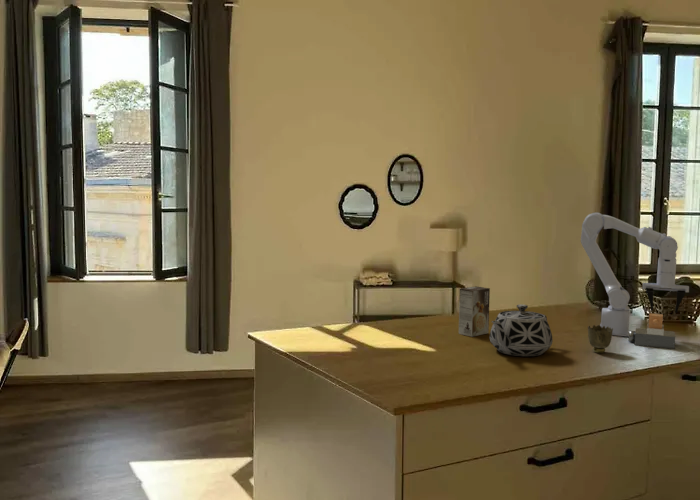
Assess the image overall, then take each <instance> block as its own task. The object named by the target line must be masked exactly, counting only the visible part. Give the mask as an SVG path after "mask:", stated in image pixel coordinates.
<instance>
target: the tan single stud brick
mask: <svg viewBox="0 0 700 500" xmlns="http://www.w3.org/2000/svg"><path fill="white" fill-rule="evenodd" d="M648 316H649V317H648V319H649V320H648V324H649V328H658V329H662V325H663V322H664V321H663V320H664V319H663V317H664V314H661V313H651V312H650V313H649V315H648Z"/></svg>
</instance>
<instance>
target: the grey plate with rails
mask: <svg viewBox="0 0 700 500" xmlns="http://www.w3.org/2000/svg"><path fill="white" fill-rule="evenodd" d="M628 342H633V343H634V346H638V345H639V346H640V347H647V348H648V347H650V348H651V347H652V348H657V349H660V348H661V349H670V350H675V348H676V347H675V346H676V345H675V344H676V332H675V331H670V330H665V329H664V324H662V329H658V328H649V323H646V328H639V327H637V328H635V330H629V337H628ZM639 346H638V347H639Z"/></svg>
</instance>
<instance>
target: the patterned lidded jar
mask: <svg viewBox="0 0 700 500" xmlns="http://www.w3.org/2000/svg"><path fill="white" fill-rule="evenodd" d="M528 307H529V305H527V304H521V303H520V304H517V305H516V308H517V309H518V310H504V311H501V312H499V313H498V314H497V315H496V316H497V317H496V318H495V320H492V321H491V323H492V326H491V328H490V332H489V341H490V343H491V345H492V346H493V347H494V348H495V349H496V350H497V351H498V352H499V353H502V354H505V355H509V356H515V357H536V356H541V355H543V354H544V353H545V352H546V351H548V350H549V349H550V348H551V346H552V344H553V334H552V331H551V328H550V325H549V323H548V318H547V315H546V314H542V313H540V312H537V311H536V312H534V311H530V310H529V311H527V309H528Z"/></svg>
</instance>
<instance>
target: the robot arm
mask: <svg viewBox="0 0 700 500" xmlns="http://www.w3.org/2000/svg"><path fill="white" fill-rule="evenodd" d="M602 229H603V230H607V229H615V230H617V231H618V232H622V233H625V234H627V235H630V236H632V237H635V239H636V241H637V243H639V244H641V245H644V246H646V247H649V248H650V249H654V250H658V251H659V255H658V256H659V257H658V258H657V273H656V283H655V282H642V288H641V289H642V290H645V293H646V296H647V299H648V301H649V304H650V305H649V306H650V311H654V290H655V291H671V292H676V300H675V301H676V303H675V309H674V310H675V312H674V313H676V314H677V313H678V311H679V308H680V304H681V302H682V301H683V299H684V297H685V295H686V293H690V286H689V285H680V284H676V275H677V274H676V271H677V250H678V248H679V246H678V242H677V240H676V239H675V238H674V237H673V236H671V235H670V236H669V235H667V234H666V233H661V232H659V231H656V230H653V227H651V226H649V227H646V226H643V227H640V228H639V227H636V226H634V225H632V224H630V223H628V222H626V221H624V220H621V219H619V218H617V217H614V216H611V215H608V214H602V213H600V212H598V211H597V212H592V213H589V214H587V215H586V217H584V220H583V222H582V224H581V234H580V243H581V244H580V245H581V246H582V249H583V250H584V251H585V253H586V255H587V256H588V257H587V258H589V261H590V262H591V264H592V266H593V268H594V270H595V271H596V273H597V275H598V276H599V279H600V280H601V282H602V284H603V287H604V289H605V291H606V293H607V296H608V302H609V305H608V307H602V309H601V318H600V319H601V320H600V321H601V322H600V324H599V325H600V326H601V327H603V326H605V329H606V327H609V328H611V329H612V328H613V332H612V336H617V337H618V336H619V337H628V338H629V331H630V330H629V328H630V317H631V316H630V315H631V308H630V307H629V306H628V304H629V302H630V299H631V297H630V292H629V291H628V290H626V289H625V288H624V287H622V284H621V282H620V281H619V280H618V279H617V277H616V275H615V273H614V272H613V270H612V268H611V265H610V264H609V262H608V261H607V258H606V257H605V255H604V254H603V252H602V250H601V249H600V248H601V247H600V246H599V244H598V242H597V238H598V236H599V234H600V232H601V230H602Z"/></svg>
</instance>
